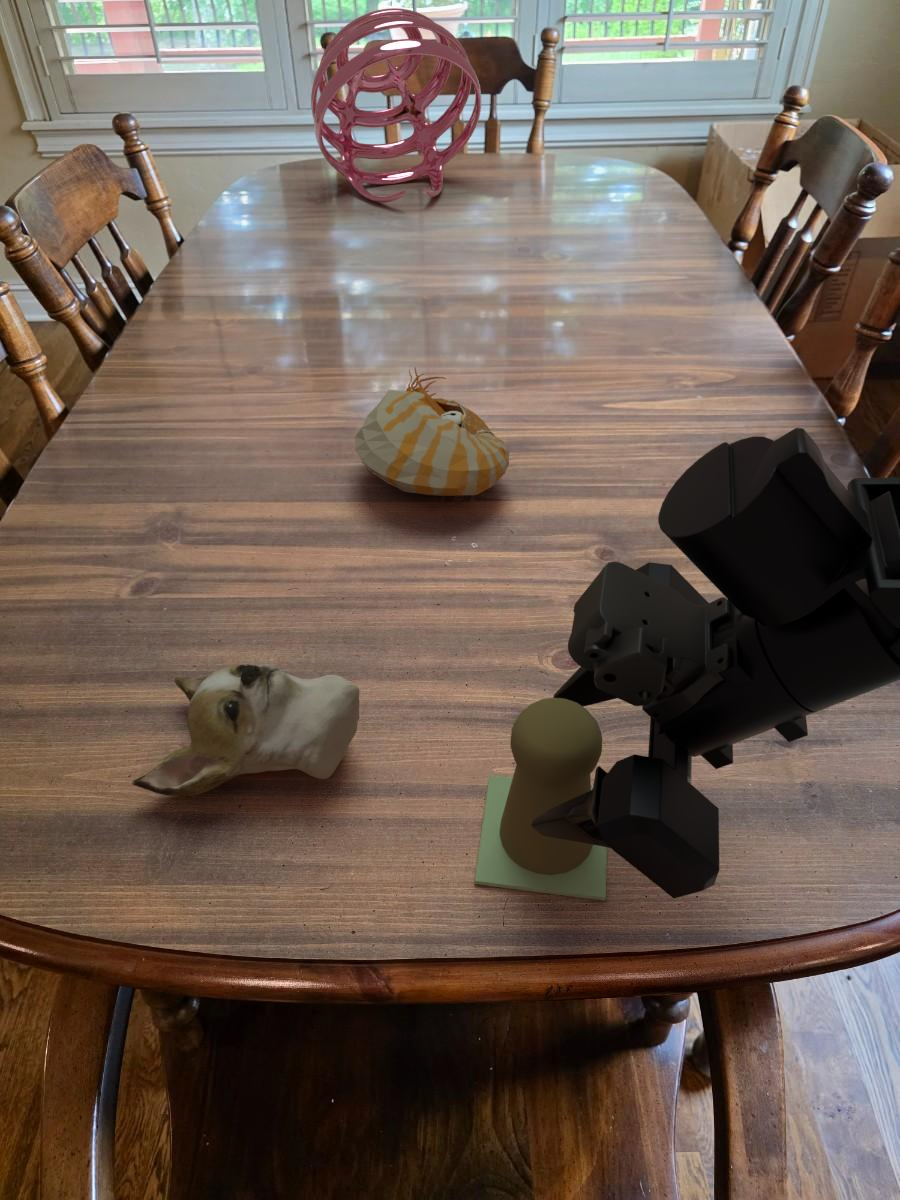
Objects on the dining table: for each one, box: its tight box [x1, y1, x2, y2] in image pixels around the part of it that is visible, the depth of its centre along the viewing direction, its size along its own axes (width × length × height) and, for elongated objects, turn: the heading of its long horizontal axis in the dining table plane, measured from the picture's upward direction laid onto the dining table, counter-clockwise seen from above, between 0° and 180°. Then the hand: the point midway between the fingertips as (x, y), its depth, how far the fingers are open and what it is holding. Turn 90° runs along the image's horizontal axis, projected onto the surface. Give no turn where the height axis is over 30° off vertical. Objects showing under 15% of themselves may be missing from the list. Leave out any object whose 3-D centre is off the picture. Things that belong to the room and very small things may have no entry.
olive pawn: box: [499, 697, 603, 875], centre depth 52 cm, size 6×6×11 cm
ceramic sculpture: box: [131, 663, 360, 797], centre depth 58 cm, size 11×9×15 cm
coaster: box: [474, 774, 608, 902], centre depth 56 cm, size 8×8×1 cm
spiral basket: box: [310, 7, 482, 204], centre depth 143 cm, size 28×28×27 cm
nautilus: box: [354, 366, 510, 497], centre depth 86 cm, size 8×22×15 cm
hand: (547, 761), depth 51 cm, fingers open, 9 cm apart
